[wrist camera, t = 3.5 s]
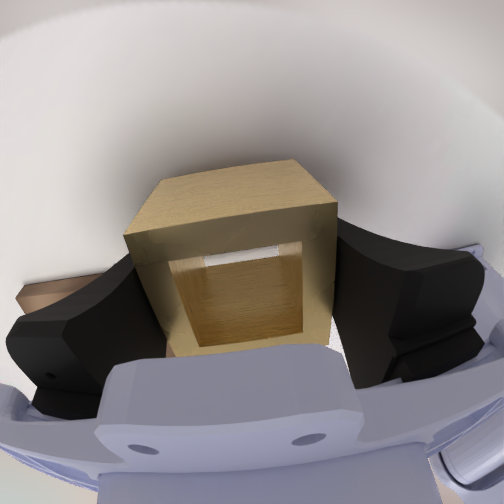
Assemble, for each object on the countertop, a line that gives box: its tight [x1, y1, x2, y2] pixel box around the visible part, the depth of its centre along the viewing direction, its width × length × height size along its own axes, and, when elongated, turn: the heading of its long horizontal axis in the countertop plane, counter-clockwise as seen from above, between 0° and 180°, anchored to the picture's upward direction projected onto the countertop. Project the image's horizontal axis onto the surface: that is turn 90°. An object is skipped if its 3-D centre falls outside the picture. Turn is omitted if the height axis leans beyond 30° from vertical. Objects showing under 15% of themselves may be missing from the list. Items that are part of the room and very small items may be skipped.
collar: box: [123, 159, 338, 357], centre depth 10 cm, size 6×6×5 cm
